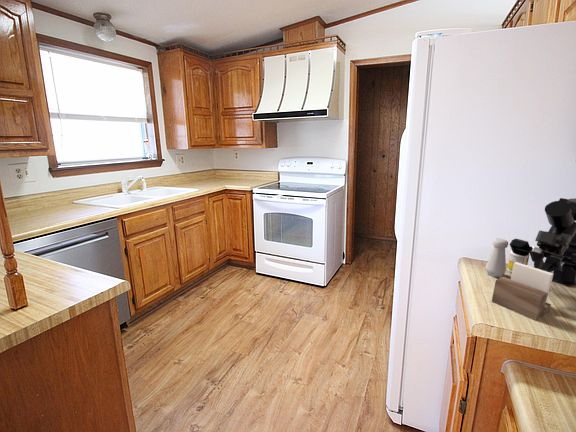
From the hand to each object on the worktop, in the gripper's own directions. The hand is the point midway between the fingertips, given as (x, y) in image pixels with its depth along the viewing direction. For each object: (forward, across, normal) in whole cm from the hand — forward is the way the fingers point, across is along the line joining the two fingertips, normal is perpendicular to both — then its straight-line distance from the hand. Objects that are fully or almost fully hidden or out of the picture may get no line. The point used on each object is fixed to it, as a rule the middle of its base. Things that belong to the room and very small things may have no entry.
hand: (534, 278), depth 91 cm
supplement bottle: (-8, -11, +17) cm, 22 cm away
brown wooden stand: (+10, 0, 0) cm, 10 cm away
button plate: (+5, 0, +1) cm, 5 cm away
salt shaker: (-1, -14, +10) cm, 17 cm away
